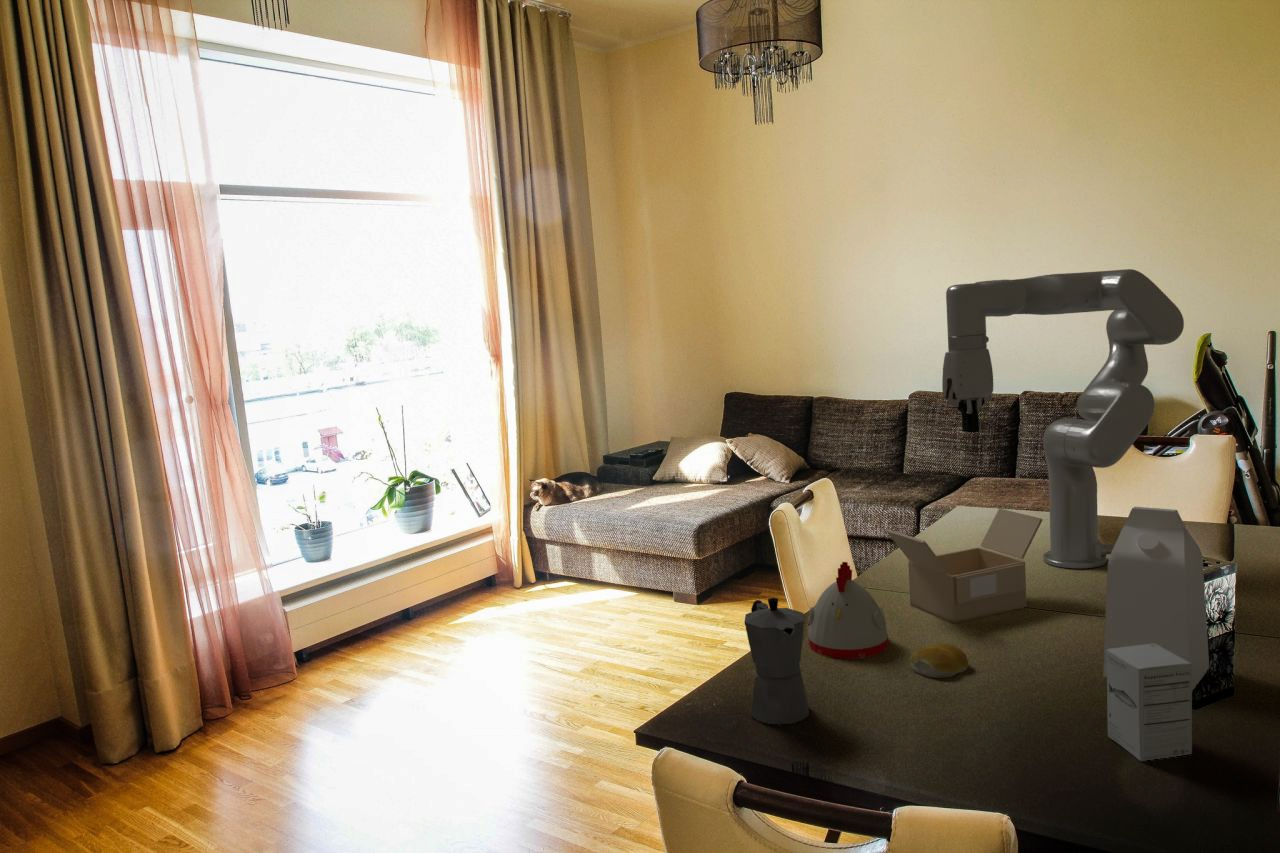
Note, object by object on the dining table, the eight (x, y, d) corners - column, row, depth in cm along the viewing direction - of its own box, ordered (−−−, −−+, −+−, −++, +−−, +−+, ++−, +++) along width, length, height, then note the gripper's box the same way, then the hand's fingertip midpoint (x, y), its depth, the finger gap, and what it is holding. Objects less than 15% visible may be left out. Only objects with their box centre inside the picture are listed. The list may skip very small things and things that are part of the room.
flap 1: (911, 559, 183) (887, 528, 181) (949, 572, 173) (924, 540, 170) (909, 561, 183) (885, 530, 180) (947, 574, 172) (922, 542, 170)
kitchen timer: (799, 654, 164) (794, 572, 162) (819, 628, 176) (815, 551, 175) (879, 662, 158) (875, 576, 156) (894, 634, 170) (891, 554, 169)
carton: (977, 589, 191) (976, 546, 190) (1029, 608, 178) (1027, 562, 177) (908, 604, 186) (906, 560, 184) (956, 625, 172) (954, 577, 171)
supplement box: (1105, 737, 126) (1104, 647, 125) (1158, 731, 127) (1156, 641, 125) (1139, 763, 119) (1137, 668, 117) (1194, 756, 119) (1193, 661, 118)
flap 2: (981, 546, 189) (1000, 509, 190) (1023, 559, 178) (1042, 519, 179) (980, 545, 189) (999, 508, 190) (1021, 558, 178) (1041, 518, 179)
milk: (1209, 668, 145) (1208, 504, 142) (1190, 693, 137) (1189, 520, 134) (1125, 653, 153) (1123, 498, 150) (1103, 676, 145) (1099, 513, 142)
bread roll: (977, 668, 153) (976, 644, 152) (941, 683, 148) (940, 659, 147) (936, 654, 159) (935, 632, 159) (900, 669, 155) (899, 646, 154)
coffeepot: (827, 725, 136) (820, 606, 134) (766, 736, 134) (758, 615, 132) (787, 685, 151) (780, 578, 149) (732, 695, 149) (724, 586, 147)
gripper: (981, 340, 199) (985, 425, 201) (926, 347, 193) (930, 434, 195) (1008, 340, 192) (1011, 428, 194) (951, 347, 186) (955, 438, 189)
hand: (970, 431), depth 195 cm, fingers closed
